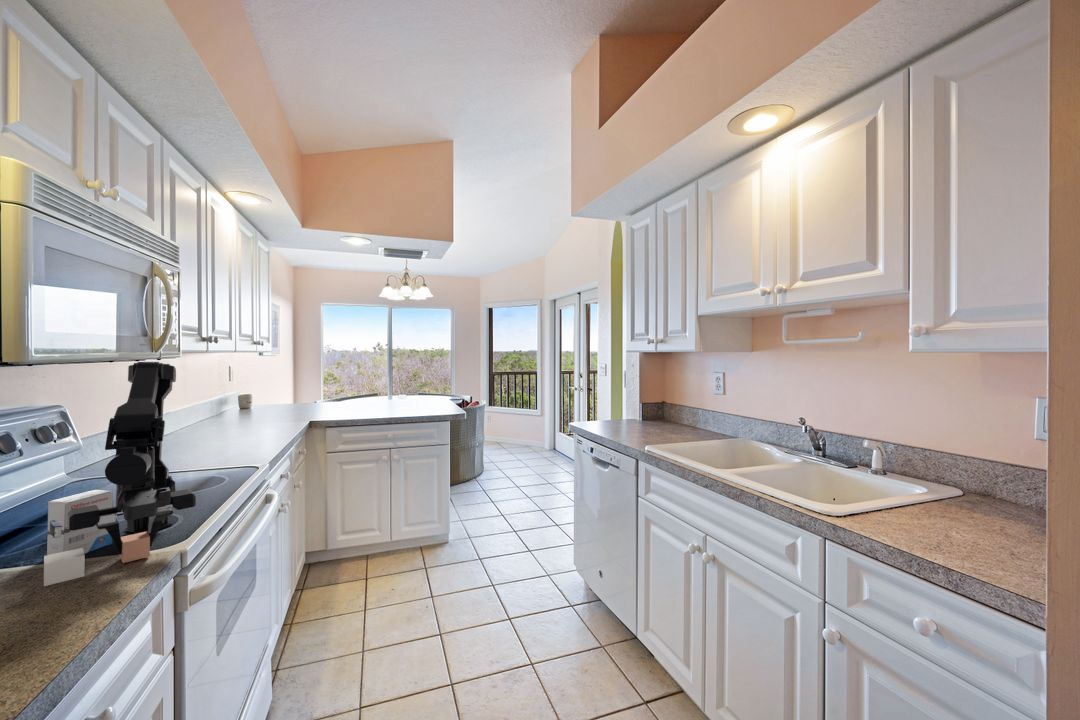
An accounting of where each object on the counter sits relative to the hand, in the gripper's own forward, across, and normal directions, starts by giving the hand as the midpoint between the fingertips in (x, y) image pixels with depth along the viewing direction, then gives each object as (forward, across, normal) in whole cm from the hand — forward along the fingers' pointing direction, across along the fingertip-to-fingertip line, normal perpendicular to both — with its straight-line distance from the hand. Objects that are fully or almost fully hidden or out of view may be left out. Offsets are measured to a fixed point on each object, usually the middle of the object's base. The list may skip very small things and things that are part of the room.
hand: (134, 550), depth 90 cm
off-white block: (+2, -10, 0) cm, 10 cm away
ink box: (+2, -7, +13) cm, 15 cm away
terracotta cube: (+1, 0, 0) cm, 1 cm away
